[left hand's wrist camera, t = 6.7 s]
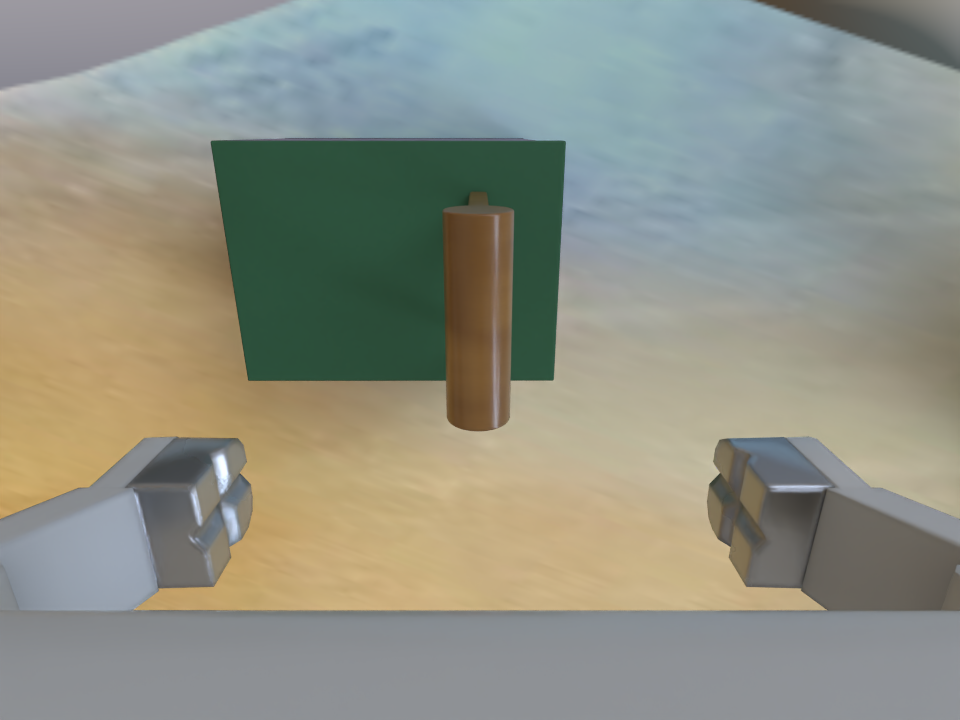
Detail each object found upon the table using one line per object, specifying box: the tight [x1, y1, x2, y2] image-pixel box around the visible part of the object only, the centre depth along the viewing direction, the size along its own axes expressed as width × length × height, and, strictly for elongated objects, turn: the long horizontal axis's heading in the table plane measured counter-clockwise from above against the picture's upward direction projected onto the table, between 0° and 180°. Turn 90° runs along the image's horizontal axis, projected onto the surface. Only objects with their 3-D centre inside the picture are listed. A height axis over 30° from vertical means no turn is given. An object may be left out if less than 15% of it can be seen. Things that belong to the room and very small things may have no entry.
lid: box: [211, 141, 566, 431], centre depth 21 cm, size 14×10×9 cm
